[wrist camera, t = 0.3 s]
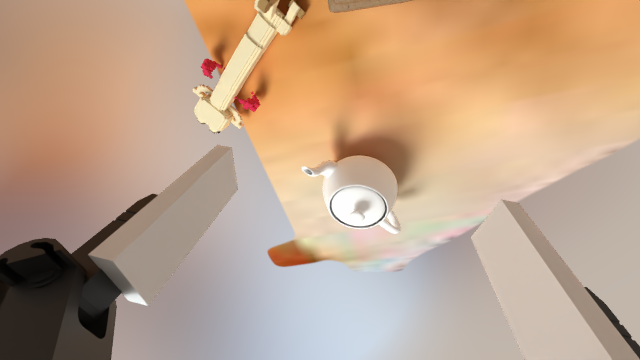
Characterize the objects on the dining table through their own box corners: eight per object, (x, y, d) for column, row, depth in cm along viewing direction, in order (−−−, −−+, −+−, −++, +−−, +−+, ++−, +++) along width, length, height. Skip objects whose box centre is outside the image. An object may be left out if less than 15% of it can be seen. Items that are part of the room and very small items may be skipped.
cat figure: (262, -36, 29) (188, 105, 41) (232, -59, 22) (153, 120, 34) (319, 26, 32) (234, 141, 44) (308, 23, 25) (210, 162, 37)
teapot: (423, 189, 43) (436, 232, 35) (372, 223, 51) (372, 265, 42) (336, 115, 38) (326, 144, 29) (293, 165, 46) (275, 199, 37)
